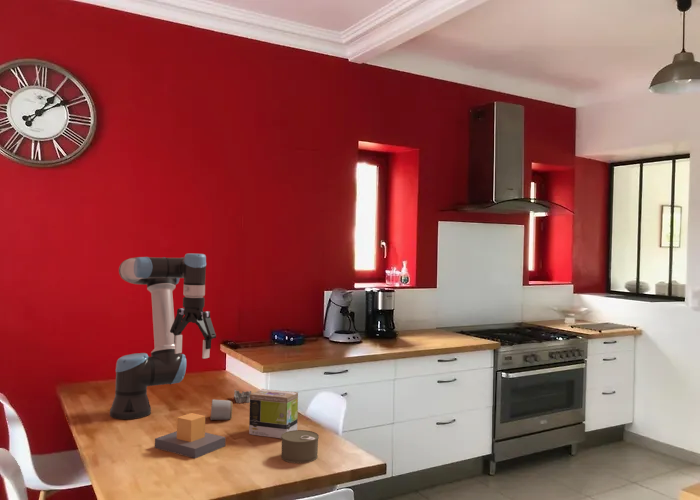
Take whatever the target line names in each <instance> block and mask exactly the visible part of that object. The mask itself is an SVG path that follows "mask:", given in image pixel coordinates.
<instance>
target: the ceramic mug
mask: <svg viewBox="0 0 700 500" xmlns="http://www.w3.org/2000/svg"><path fill="white" fill-rule="evenodd" d="M210 410H211V411H210V420H211V421H223V420H224V421H227V420H228V421H229V420H231V419H232V416H233V401H232V400H225V399H211V406H210Z"/></svg>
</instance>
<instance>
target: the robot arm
mask: <svg viewBox="0 0 700 500" xmlns="http://www.w3.org/2000/svg"><path fill="white" fill-rule="evenodd" d="M206 269H207V256H206V254H204V253H185V255H184V256H183V257H166V256H165V257H164V256H163V257H154V256H153V257H150V256H137V257H129V258H128V259H125V260H124V261H122V262H121V263H120V265H119V267H118V274H119V276H120V278H121V279H122V280H123V281H124V282H127V283H129V284H133V285H144V286H145V285H146V290H147V291H148V292H149V293H150V294H151V295H150V296H151V307H152V309H151V310H152V311H151V312H152V324H153V325H152V327H153V328H152V329H153V340H154V341H153V343H154V349H152V351H151V352H150V356H149V355H148V353H146V352H140V353H138V352H137V353H135V352H134V353H131V354H125V355H122V356H121V357H119V358H118V359H117V360H116V363H115V371H114V372H115V393H114V394H115V395H114V398H113V402H112V404H111V407H110V409H109V416H110V418H112V419H116V420H117V419H118V420H134V419H140V418H145V417H147V416H149V415H151V411H152V410H151V409H152V407H151V404H150V400H149V398H148V397H149V396H148V394H147V393H148V392H147V391H148V390H147V389H148V387H151V386H163V385H172V384H178V383H181V382H182V381H183V380H184V378H185V374H186V372H187V371H186V370H187V358H186V355H185V354H184V353H183V333H182V332H183V331H184V329H185V328H186V327H187V325H188V324H189V323H192V324H196V325H197V327H198V330H199V331H200V333H201V335H202V336H203V338H204V339H203V340H202V356H201V358H202V359H208V358H210V355H211V354H210V351H211V349H212V340H214V339H216V338H217V333H216V332H215V331H216V330H215V328H214V326H213V322H212V318H211V311H209V310H207V311H204V308H205V302H206V299H205V295H206V274H207V273H206ZM180 279H183V294H182V295H183V298H182V308H180V307H179V308H177V310H176V314H175V310H174V298H173V292H174V290H175V289H176V285H178V284H179V282H180Z"/></svg>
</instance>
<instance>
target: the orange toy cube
mask: <svg viewBox="0 0 700 500" xmlns="http://www.w3.org/2000/svg"><path fill="white" fill-rule="evenodd" d="M176 431H177V439H180V440H184V441H188V442H193V441H195V440H198V439H201V438H203V437H205V432H206V415H202V414H198V413H192V412H189V413H187V414H184V415H181V416H177V418H176Z"/></svg>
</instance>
